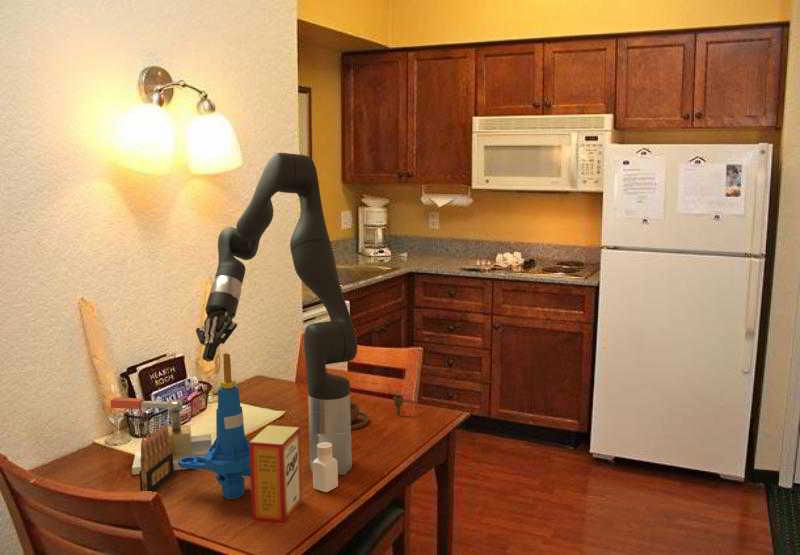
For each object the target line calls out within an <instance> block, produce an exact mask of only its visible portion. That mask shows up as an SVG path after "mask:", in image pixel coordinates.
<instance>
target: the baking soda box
mask: <svg viewBox="0 0 800 555" xmlns="http://www.w3.org/2000/svg"><path fill="white" fill-rule="evenodd" d="M300 428H301V427H300V426H289V425H275V424H268V425H267V426H266V427H265V428H263V429H262V430H261V431H260V432H259V433H258V434H257V435H256V436H255V437H253V438H252V439H251V440H250V441H248V442H249V449H250V471H251V477H250V489H251V494H250V495H251V510H252V511H251V512H252V521H257V522H258V521H259V522H268V523H276V524H277V523H278V524H286V522H287V521H288V520H289V519H290V518H291V516H292V514H294V512H295V511H296V509H297V508H298V507H299V505H300V504H301V503H302V502H303V492H302V491H303V488H302V485H303V484H302V464H301V463H302V460H301V457H302V456H301V432H300V431H301V430H300Z"/></svg>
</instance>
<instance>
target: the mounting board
mask: <svg viewBox="0 0 800 555" xmlns="http://www.w3.org/2000/svg"><path fill="white" fill-rule="evenodd" d="M134 454H135V455H134V459H133V463H132V467H131V473H132V475H140V470H141V461H140V458H141V451H136V452H135V453H134ZM196 457H204V456H196ZM178 461H179V460H174V461H173V466H174V471H178V470H179V471H181V470H189V468H181V467H179V466H178ZM186 463H187V462H186Z"/></svg>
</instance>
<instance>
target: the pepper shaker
mask: <svg viewBox="0 0 800 555" xmlns="http://www.w3.org/2000/svg"><path fill="white" fill-rule="evenodd" d="M332 453H333V452H332V444H331V443H328V442H322V443H319V444H317V455H318V458H317V459H315V460H314V461H313V472H312V487H313V489H315V490H318V491H319V492H320V491H321V492H323V493H328V492H330V491H333V490H334V489H335V488H338V486H339V478H338V477H339V475H338V466H337V460H336V459H335V458H333V457H332Z"/></svg>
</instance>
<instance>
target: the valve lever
mask: <svg viewBox="0 0 800 555" xmlns="http://www.w3.org/2000/svg"><path fill="white" fill-rule="evenodd" d="M110 408H111V409H128V410H129V409H130V410H141V409H143V408H153V409H154V408H156V409H157V408H158V409H167V411H169V412H171V411H178V410H180V411H181V410H182V409H183V408H184V407H183V400H182V399H171V400H169V401H160V400H158V401H156V400H154V401H153V400H145V398H139V397H137V398H136V397H135V398H134V397H113V398H112V399H110Z"/></svg>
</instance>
